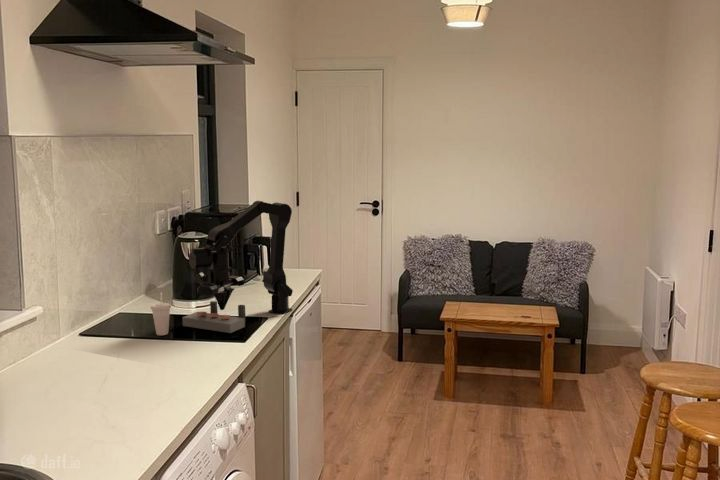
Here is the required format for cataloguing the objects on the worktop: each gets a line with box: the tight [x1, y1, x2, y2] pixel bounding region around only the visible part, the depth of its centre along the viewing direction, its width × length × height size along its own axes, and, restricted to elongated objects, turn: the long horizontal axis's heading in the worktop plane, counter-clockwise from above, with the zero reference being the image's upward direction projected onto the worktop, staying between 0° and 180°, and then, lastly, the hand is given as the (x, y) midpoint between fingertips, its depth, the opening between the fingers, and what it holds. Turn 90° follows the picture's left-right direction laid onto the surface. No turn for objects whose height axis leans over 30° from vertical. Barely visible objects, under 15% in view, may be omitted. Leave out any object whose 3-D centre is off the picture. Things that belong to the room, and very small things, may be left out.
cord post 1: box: [209, 300, 219, 315], centre depth 251 cm, size 2×2×6 cm
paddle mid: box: [208, 312, 219, 317], centre depth 241 cm, size 3×2×1 cm
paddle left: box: [196, 310, 208, 316], centre depth 243 cm, size 3×2×1 cm
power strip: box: [182, 311, 246, 334], centre depth 241 cm, size 8×20×3 cm, turn 63°
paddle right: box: [220, 314, 231, 319], centre depth 239 cm, size 3×2×1 cm
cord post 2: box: [237, 304, 247, 324], centre depth 246 cm, size 2×2×6 cm
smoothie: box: [150, 291, 172, 336], centre depth 233 cm, size 6×6×14 cm
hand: (222, 309), depth 245 cm, fingers closed
